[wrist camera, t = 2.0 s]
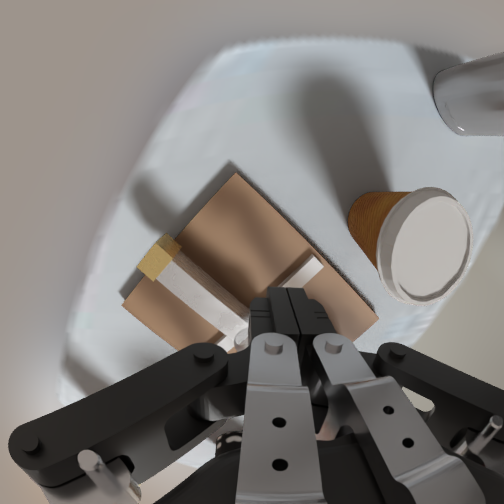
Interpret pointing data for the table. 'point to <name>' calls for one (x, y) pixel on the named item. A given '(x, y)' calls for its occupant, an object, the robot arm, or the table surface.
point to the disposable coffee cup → (414, 241)
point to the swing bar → (197, 289)
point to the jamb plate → (246, 270)
